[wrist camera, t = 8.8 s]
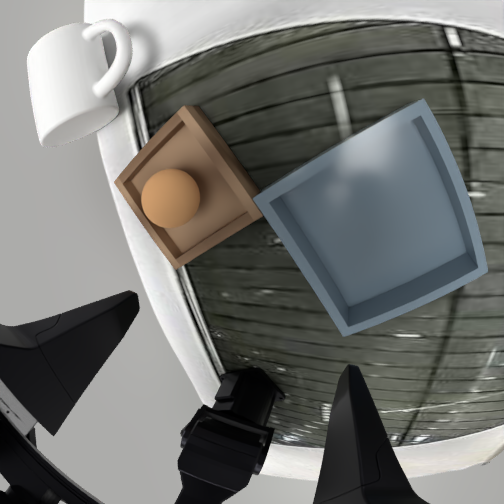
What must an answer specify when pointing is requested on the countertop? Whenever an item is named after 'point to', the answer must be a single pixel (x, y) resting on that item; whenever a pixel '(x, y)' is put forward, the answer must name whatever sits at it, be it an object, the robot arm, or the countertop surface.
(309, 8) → the countertop surface
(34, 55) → the mug
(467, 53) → the countertop surface
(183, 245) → the tray
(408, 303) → the dish
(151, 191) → the ball
